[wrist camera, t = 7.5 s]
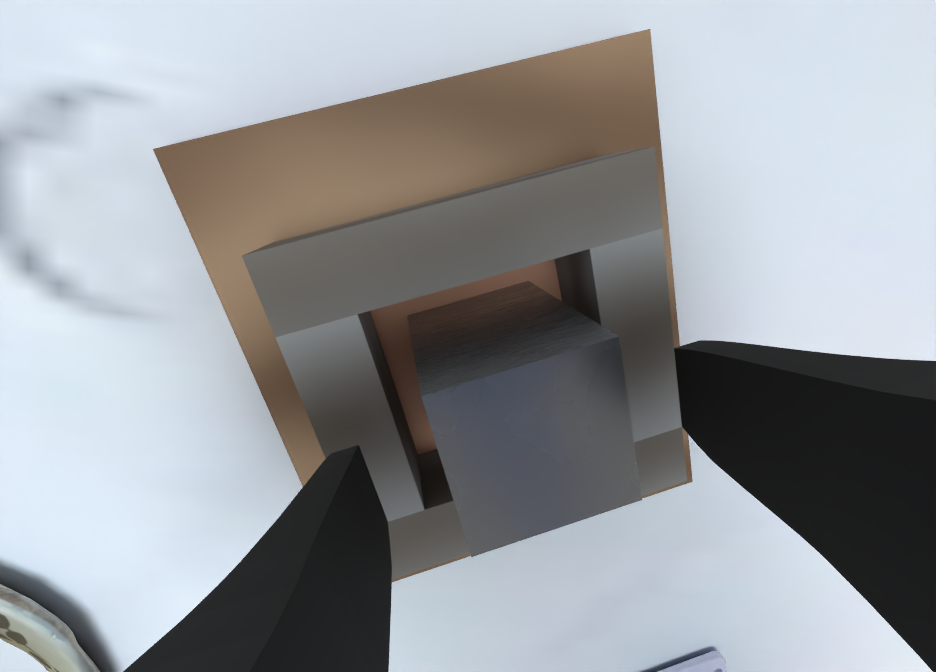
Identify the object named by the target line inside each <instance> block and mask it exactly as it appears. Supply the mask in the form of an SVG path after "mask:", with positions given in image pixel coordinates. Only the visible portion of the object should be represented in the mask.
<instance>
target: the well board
mask: <svg viewBox="0 0 936 672" xmlns="http://www.w3.org/2000/svg"><path fill="white" fill-rule="evenodd" d="M153 150H154V153H155V155H156V157H157V159H158V162H159V164H160V166H161V168H162V171H163V173H164V175H165V177H166V180H167V182H168V184H169V186H170V189H171V191H172V193H173V195H174V198H175V200H176V202H177V204H178V207H179V209H180V211H181V213H182V216H183V218H184V220H185V222H186V225H187V227H188V229H189V231H190V234H191V236H192V238H193V240H194V243H195V245H196V247H197V249H198V252H199V254H200V256H201V258H202V260H203V263H204V265H205V267H206V269H207V272H208V274H209V276H210V278H211V281H212V283H213V285H214V287H215V290H216V292H217V294H218V296H219V299H220V301H221V303H222V305H223V308H224V310H225V312H226V314H227V317H228V319H229V321H230V323H231V326H232V328H233V330H234V332H235V335H236V337H237V339H238V341H239V344H240V346H241V348H242V350H243V353H244V355H245V357H246V359H247V362H248V364H249V366H250V368H251V371H252V373H253V375H254V377H255V380H256V382H257V384H258V386H259V389H260V391H261V393H262V395H263V398H264V400H265V402H266V404H267V407H268V409H269V411H270V413H271V416H272V418H273V420H274V422H275V425H276V427H277V429H278V431H279V434H280V436H281V438H282V440H283V443H284V445H285V447H286V449H287V452H288V454H289V456H290V458H291V461H292V463H293V465H294V467H295V470H296V472H297V474H298V476H299V479H300V481H301V483H302V485H303V487H304V485H305V484H306V483H307V482H308V480H309V479H310V478H311V476H312V475H313V474H314V473H315V471H316V470H317V469H318V467H319V466H320V465H321V464H322V463H323V461H324V460H325V459H326V458H327V457H328V456H329V455H330V454H331V453H334V452H337V451H341V450H344V449H347V448H350V447H354V446H357V445H359V447H360V449H361V452H362V455H363V457H364V460H365V462H366V465H367V468H368V470H369V473H370V476H371V478H372V481H373V484H374V486H375V489H376V491H377V494H378V497H379V499H380V502H381V505H382V507H383V510H384V513H385V515H386V518H387V521H388V528H389V538H390V548H391V560H392V582H394V581H397V580H400V579H403V578H406V577H409V576H412V575H415V574H418V573H421V572H424V571H427V570H430V569H433V568H436V567H439V566H442V565H445V564H448V563H451V562H454V561H457V560H460V559H463V558H466V557H468V556H471V554H470V551H469V548H468V545H467V542H466V538H465V535H464V532H463V529H462V526H461V523H460V519H459V516H458V513H457V510H456V507H455V503H454V500H453V497H452V494H451V491H450V488H449V484H448V481H447V478H446V475H445V472H444V468H443V465H442V462H441V459H440V456H439V453H438V449H437V446H436V443H435V440H434V437H433V433H432V430H431V427H430V424H429V421H428V418H427V414H426V411H425V408H424V405H423V402H422V398H421V394H420V388H419V383H418V377H417V371H416V365H415V359H414V353H413V347H412V341H411V335H410V329H409V324H408V318H407V315H411V314H414V313H418V312H421V311H425V310H428V309H431V308H435V307H438V306H442V305H445V304H449V303H452V302H456V301H459V300H463V299H466V298H470V297H473V296H477V295H480V294H484V293H487V292H491V291H494V290H498V289H501V288H505V287H508V286H512V285H515V284H519V283H522V282H526V281H530V282H531V283H533V284H535V285H536V286H538V287H539V288H541V289H543V290H544V291H546V292H548V293H549V294H551V295H552V296H554V297H556V298H557V299H559V300H561V301H562V302H564V303H565V304H567V305H569V306H570V307H572V308H573V309H575V310H577V311H578V312H580V313H582V314H583V315H585V316H586V317H588V318H590V319H591V320H593V321H595V322H596V323H598V324H599V325H601V326H603V327H604V328H606V329H608V330H609V331H611V332H612V333H614V334H616V335H617V336H619V341H620V348H621V355H622V362H623V369H624V376H625V383H626V390H627V397H628V404H629V411H630V418H631V425H632V432H633V439H634V446H635V453H636V460H637V467H638V474H639V481H640V488H641V495H642V498H645V497H648V496H651V495H654V494H657V493H660V492H663V491H666V490H669V489H672V488H675V487H678V486H681V485H684V484H687V483H690V482H692V472H691V461H690V450H689V440H688V433H687V432H686V431H685V430H684V429H683V427H682V423H681V413H680V403H679V393H678V383H677V373H676V363H675V354H674V348H677V347H680V344H679V333H678V322H677V312H676V301H675V290H674V279H673V269H672V258H671V247H670V237H669V226H668V215H667V205H666V194H665V183H664V173H663V162H662V151H661V140H660V130H659V119H658V108H657V98H656V87H655V76H654V66H653V55H652V44H651V34H650V29H648V30H644V31H640V32H635V33H631V34H627V35H623V36H619V37H615V38H611V39H606V40H602V41H598V42H594V43H590V44H586V45H582V46H578V47H573V48H569V49H565V50H561V51H557V52H553V53H549V54H544V55H540V56H536V57H532V58H528V59H524V60H520V61H515V62H511V63H507V64H503V65H499V66H495V67H491V68H486V69H482V70H478V71H474V72H470V73H466V74H462V75H457V76H453V77H449V78H445V79H441V80H437V81H433V82H429V83H424V84H420V85H416V86H412V87H408V88H404V89H400V90H395V91H391V92H387V93H383V94H379V95H375V96H371V97H366V98H362V99H358V100H354V101H350V102H346V103H342V104H337V105H333V106H329V107H325V108H321V109H317V110H313V111H309V112H304V113H300V114H296V115H292V116H288V117H284V118H280V119H275V120H271V121H267V122H263V123H259V124H255V125H251V126H246V127H242V128H238V129H234V130H230V131H226V132H222V133H217V134H213V135H209V136H205V137H201V138H197V139H193V140H188V141H184V142H180V143H176V144H172V145H168V146H164V147H160V148H155V149H153Z"/></svg>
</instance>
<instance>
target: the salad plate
mask: <svg viewBox="0 0 936 672" xmlns="http://www.w3.org/2000/svg"><path fill="white" fill-rule="evenodd" d="M0 638H1V639H2V640H4V641H5V642H7V643H9V644H11V645H13V646H15V647H17V648H19V649H21V650H23V651H25V652H27V653H28V654H29V655H31V656H32V657H33V658H35V659H36V660H37V661H38V662H40V663H41V664H42V665H43V666H44V667H45V668H46V670H48V671H49V672H100V671H99V669H98V668H97V666H96V665H95V664H94V663H93V661H92V660H91V659H90V658H89V657H88V656H87V654H86V653H85V652H84V651H83V650H82V648H81V647H80V646H79V645H78V643H77V641H76V638H75V636H74V634H73V632H72V631H71V630H70V628H69V627H68V626H67V625H66V624H65V623H64V622H62V621H61V620H60V619H59V618H58V617H57V616H55V615H54V614H52V613H51V612H49V611H48V610H46V609H45V608H43V607H42V606H40V605H39V604H37V603H36V602H35V601H33V600H32V599H30V598H28V597H26V596H24V595H22V594H20V593H18V592H15V591H13V590H11V589H9V588H7V587H5V586H3V585H1V584H0Z"/></svg>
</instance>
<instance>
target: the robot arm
mask: <svg viewBox="0 0 936 672" xmlns="http://www.w3.org/2000/svg"><path fill="white" fill-rule="evenodd" d="M674 354H675V363H676V373H677V383H678V393H679V403H680V413H681V423H682V427H683V429H684V430H685V431H686V432H687V433H688V434H689V436H690V437H691V438H692V439H693V440H694V441H695V443H696V444H697V445H698V446H699V447H700V448H701V449H702V450H703V451H704V452H705V453H706V455H707V456H708V457H709V458H710V459H711V460H712V461H713V462H714V463H715V464H717V465H718V466H719V467H720V468H721V469H722V470H723V471H725V472H726V473H727V474H728V475H729V476H730V477H732V478H733V479H734V480H735V481H736V482H737V483H739V484H740V485H741V486H742V487H743V488H744V489H746V490H747V491H748V492H749V493H750V494H752V495H753V496H754V497H755V498H756V499H758V500H759V501H760V502H761V503H762V504H763V505H765V506H766V507H767V508H768V509H769V510H771V511H772V512H773V513H774V514H775V515H777V516H778V517H779V518H780V519H781V520H782V521H784V522H785V523H786V524H787V525H788V526H790V527H791V528H792V529H793V530H794V531H796V532H797V533H798V534H799V535H800V536H801V537H803V538H804V539H805V540H806V541H807V542H808V543H809V544H810V545H811V546H812V547H814V548H815V549H816V550H817V551H818V552H819V553H820V554H821V555H822V556H823V557H824V558H825V559H826V560H827V561H828V562H829V563H830V564H831V565H832V566H833V567H834V568H835V569H836V570H837V571H838V572H839V573H840V574H841V575H842V576H843V577H844V578H845V579H846V580H847V581H848V582H849V583H850V584H851V585H852V586H853V587H854V588H855V589H856V590H857V591H858V592H859V593H860V594H861V595H862V596H863V597H864V598H865V599H866V600H867V601H868V602H869V603H870V604H871V605H872V606H873V607H874V608H875V609H876V611H877V612H878V613H879V614H880V615H881V616H882V617H883V618H884V619H885V620H886V621H887V622H888V623H889V624H890V625H891V627H892V628H893V629H894V630H895V631H896V632H897V633H898V634H899V635H900V636H901V637H902V638H903V639H904V640H905V641H906V643H907V644H908V645H909V646H910V647H911V648H912V649H913V650H914V651H915V652H916V653H917V654H918V655H919V656H920V657H921V659H922V660H923V661H924V662H925V663H926V664H927V665H928V667H929V668H930V669H931V670H932V671H933V672H936V361H921V360H900V359H885V358H873V357H861V356H850V355H839V354H829V353H820V352H811V351H803V350H794V349H786V348H778V347H770V346H762V345H753V344H745V343H736V342H725V341H696V342H693V343H690V344H686V345H683V346H680V347H677V348H674ZM391 584H392V560H391V548H390V538H389V528H388V521H387V518H386V515H385V513H384V510H383V507H382V505H381V502H380V499H379V497H378V494H377V491H376V489H375V486H374V484H373V481H372V478H371V476H370V473H369V470H368V468H367V465H366V462H365V460H364V457H363V455H362V452H361V449H360V447H359V445H357V446H354V447H350V448H347V449H344V450H341V451H337V452H334V453H331V454H330V455H329V456H328V457H327V458H326V459H325V460H324V461H323V463H322V464H321V465H320V466H319V467H318V469H317V470H316V471H315V473H314V474H313V475H312V476H311V478H310V479H309V480H308V482H307V483H306V484H305V485H304V487H303V488H302V489H301V490H300V492H299V493H298V494H297V496H296V497H295V498H294V499H293V501H292V502H291V503H290V504H289V506H288V507H287V508H286V509H285V511H284V512H283V513H282V514H281V516H280V517H279V518H278V519H277V520H276V522H275V523H274V524H273V525H272V526H271V527H270V528H269V530H268V531H267V532H266V533H265V534H264V535H263V537H262V538H261V539H260V540H259V541H258V542H257V543H256V545H255V546H254V547H253V548H252V549H251V550H250V552H249V553H248V554H247V555H246V556H245V557H244V558H243V560H242V561H241V562H240V563H239V564H238V565H237V566H236V567H235V568H234V569H233V570H232V571H231V572H230V573H229V574H228V575H227V577H226V578H225V579H224V580H223V581H222V582H221V583H220V584H219V585H218V586H217V587H216V588H215V589H214V590H213V591H212V592H211V593H210V594H209V595H208V596H207V597H206V598H204V599H203V600H202V601H201V602H200V603H199V604H198V605H197V606H196V607H195V608H194V609H193V610H192V611H191V612H190V613H189V614H188V615H187V616H186V617H185V618H184V619H183V620H182V621H180V622H179V623H178V624H177V625H176V626H175V627H174V628H173V629H171V630H170V631H169V632H168V633H167V634H166V635H165V636H163V637H162V638H161V639H160V640H159V641H158V642H157V643H155V644H154V645H153V646H152V647H151V648H150V649H149V650H147V651H146V652H145V653H144V654H143V655H142V656H141V657H139V658H138V659H137V660H136V661H135V662H134V663H133V664H131V665H130V666H129V667H128V668H127V669H126V670H125V671H123V672H388V667H389V641H390V614H391ZM657 672H726V662H725V659H724V657H723V656H722V655H721V653H720V652H718V651H712V652H709V653H706V654H703V655H700V656H698V657H695V658H692V659H690V660H687V661H684V662H682V663H679V664H676V665H673V666H671V667H668V668H665V669H663V670H660V671H657Z"/></svg>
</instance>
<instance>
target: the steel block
mask: <svg viewBox="0 0 936 672" xmlns="http://www.w3.org/2000/svg"><path fill="white" fill-rule="evenodd" d="M407 318H408V324H409V329H410V335H411V341H412V347H413V353H414V359H415V365H416V371H417V377H418V383H419V388H420V394H421V398H422V402H423V405H424V408H425V411H426V414H427V418H428V421H429V424H430V427H431V430H432V433H433V437H434V440H435V443H436V446H437V449H438V453H439V456H440V459H441V462H442V465H443V468H444V472H445V475H446V478H447V481H448V484H449V488H450V491H451V494H452V497H453V500H454V503H455V507H456V510H457V513H458V516H459V519H460V523H461V526H462V529H463V532H464V535H465V538H466V542H467V545H468V548H469V551H470V554H471V557H473V556H476V555H479V554H482V553H485V552H488V551H491V550H494V549H497V548H500V547H503V546H506V545H509V544H512V543H515V542H518V541H521V540H524V539H527V538H529V537H532V536H535V535H538V534H541V533H544V532H547V531H550V530H553V529H556V528H559V527H562V526H565V525H568V524H571V523H574V522H577V521H580V520H583V519H586V518H589V517H592V516H595V515H598V514H601V513H604V512H607V511H610V510H613V509H616V508H619V507H622V506H625V505H628V504H631V503H634V502H637V501H640V500H642V495H641V488H640V481H639V474H638V467H637V460H636V453H635V446H634V439H633V432H632V425H631V418H630V411H629V404H628V397H627V390H626V383H625V376H624V369H623V362H622V355H621V348H620V341H619V336H617V335H616V334H614V333H612V332H611V331H609V330H608V329H606V328H604V327H603V326H601V325H599V324H598V323H596V322H595V321H593V320H591V319H590V318H588V317H586V316H585V315H583V314H582V313H580V312H578V311H577V310H575V309H573V308H572V307H570V306H569V305H567V304H565V303H564V302H562V301H561V300H559V299H557V298H556V297H554V296H552V295H551V294H549V293H548V292H546V291H544V290H543V289H541V288H539V287H538V286H536V285H535V284H533V283H531V282H530V281H526V282H522V283H519V284H515V285H512V286H508V287H505V288H501V289H498V290H494V291H491V292H487V293H484V294H480V295H477V296H473V297H470V298H466V299H463V300H459V301H456V302H452V303H449V304H445V305H442V306H438V307H435V308H431V309H428V310H425V311H421V312H418V313H414V314H411V315H407Z"/></svg>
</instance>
